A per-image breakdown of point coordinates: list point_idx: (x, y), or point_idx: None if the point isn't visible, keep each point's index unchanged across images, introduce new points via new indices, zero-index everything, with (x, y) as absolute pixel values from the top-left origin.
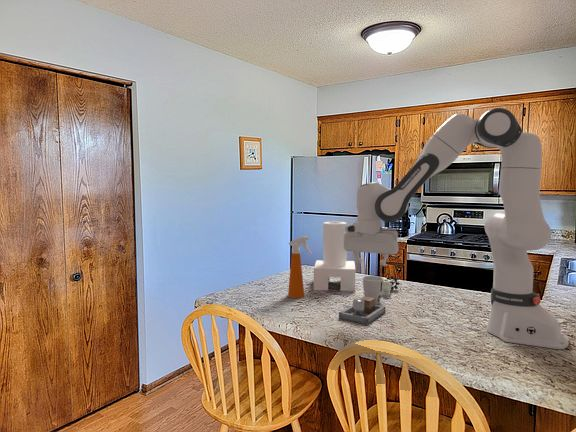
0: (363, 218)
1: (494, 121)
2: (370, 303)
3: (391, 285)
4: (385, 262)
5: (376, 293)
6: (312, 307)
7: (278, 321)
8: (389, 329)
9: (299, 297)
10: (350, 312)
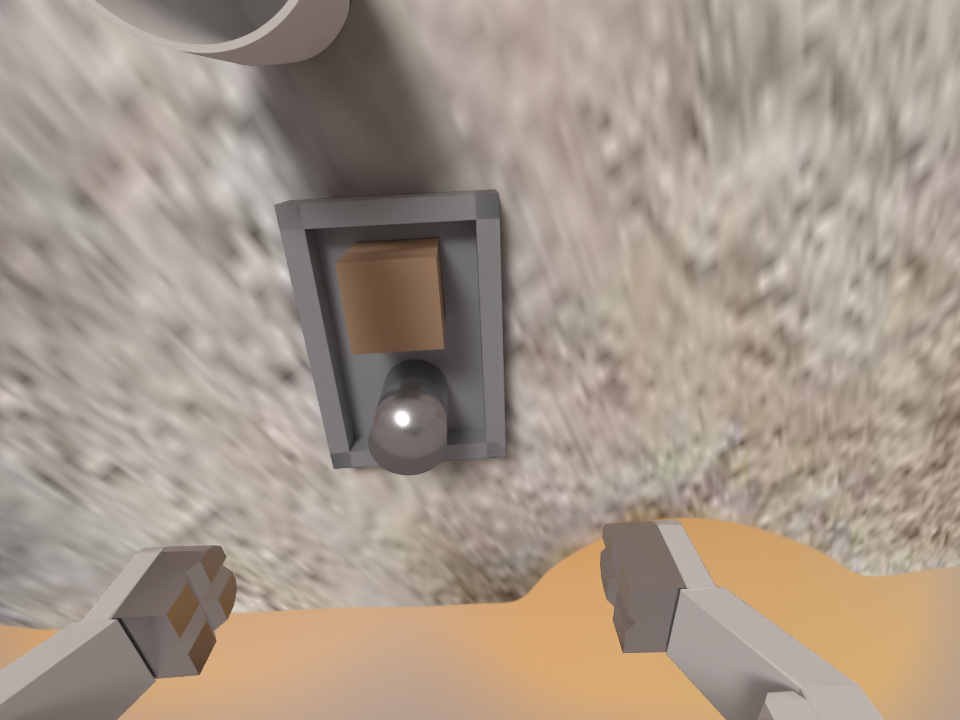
0: None
1: None
2: (443, 332)
3: None
4: (695, 565)
5: (334, 28)
6: (87, 392)
7: None
8: (615, 423)
9: None
10: (339, 361)
